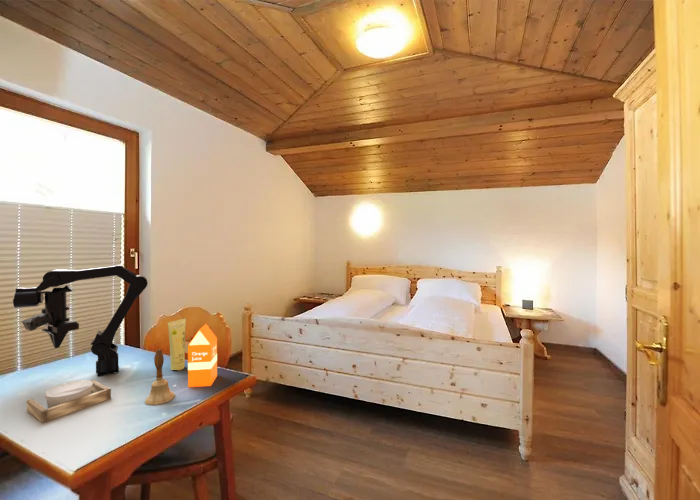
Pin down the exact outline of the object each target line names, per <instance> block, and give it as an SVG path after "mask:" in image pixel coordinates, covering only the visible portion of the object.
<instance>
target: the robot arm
mask: <svg viewBox="0 0 700 500" xmlns="http://www.w3.org/2000/svg"><path fill="white" fill-rule="evenodd" d="M114 276H116V277H118V278H120V279H122V280H123V281H124V282H126V283H127V284H129V285H128V288H127V291H126V293H125V295H124V297H123V299H122V300H121V302H120V304H119V306H118V307H117V309H116V310H115V312H114V314H113V315H112V317H111V319H110V321H109V322H108V324H107V326H106V327H105V328H104V329H103V330H97V333H96V334H95V337H94V338H93V339H91V342H90V346H91V347H90V351H91V353H92V354H93V355H95V356H97V360H96V361H95V374H96V375H97V377H100V376H105V375H110V374H111V375H112V374H115V373H116V374H117V373H119V372H120V366H119V352H118V349H119V346H118V345H116V344H115V343H114V342H113V341H114V339H115V335H116V333H117V331H118V329H119V328H120V326H121V324H122V322H123V321H124V320H125V318H126V316H127V314H128V312H129V311H130V309H131V307H132V306H133V303H135V300H137V298H138V297H139V296H140V295H141V294H142V293H143V292H144V291H145V289H146V288H147V286H148V279H147V278H146V276H145V275H143V274H142V275H141V274H136V273H135V272H133V271H131V270H130V269H128V268H126V267H125V266H123V265H121V264H117V265H111V266H105V267H94V268H86V269H54V270H50V271H47V272H46V273H45V274H44V275H43V276H42V281H41V282H40V283H39V284H38V285H37V287H17V288H15V291H14V292H15V293H14V295H13V296H14V297H13V299H12V305H13V308H14V309H21V308H33V307H34V308H35V307H39V306H40V304H43V302H44V307H43V308H42V309H41V310H40V313H38V314H35V315H34V316H33V315H32V316H31V317H28V318H26V319H24V320H22V321H21V322H22V323H21V324H22V325H23V327H24V328H25V330H26V331H27V330H28V331H30V332H32V331H34V330H37V329H38V328H40V327H42V326H44V328H42V329H41V331H42V332H44V333H46V334H48V336H49V338H50V341H51V343H52V346H53V348H54V349H59V348H60V346H62V343H63V341H64V339H65V337H66V336H67V334H68V333H69V332H71V331H77V330H79V329H80V322H78V321H75V320H70V317H68V314H67V311H69V310H70V306H67V293H70V292H73V291H74V288H72V287H71V286H69V284H71V283H74V282H77V281H82V280H83V281H84V280H85V281H86V280H90V279H99V278H108V277H114ZM63 285H65V286H63ZM60 286H61V287H60ZM62 286H63V287H62ZM49 288H52V290H47V289H49Z"/></svg>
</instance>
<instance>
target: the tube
mask: <svg viewBox="0 0 700 500" xmlns="http://www.w3.org/2000/svg"><path fill="white" fill-rule="evenodd" d="M186 324H187V319H186V318H181V319H177V320H173V321H168V322H167V329H168V339H169V340H168V341H169V357H170V363H169V365H170V370H171V371H172V370H178V371H181V370H184V369H185V366H186V364H185V362H186V361H185V359H186V358H185V355H186V354H185V352H186V349H185V348H186Z"/></svg>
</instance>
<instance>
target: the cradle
mask: <svg viewBox="0 0 700 500" xmlns="http://www.w3.org/2000/svg"><path fill="white" fill-rule="evenodd" d="M90 381H91V382H92V383H93V386H92V389H91V394H90V395H87V396H84V397H81V398H78V399H75V400H72V401H69V402H66V403H63V404H60V405H57V406H54V407H51V408H48V407H47V408H46V407H45V406H43V405H42V404H40V403H39V402H37V401H36V400H35V399H34V398H30V399H27V400H26V411H27V412H28V411H29V412H28V413H29V414H31V415H33V416H34V417H35V418H36V419H38V421H40V422H41V423H46V422H49V421H52V420H54V419H58V418H60V417H62V416H65V415H69V414H70V413H74V412H76V411H78V410H81V409H85V408H87V407H90V406H93V405H96V404H99V403H100V402H103V401H106V400H110V399H111V398H112V389H111V388H110V387H108V386H106V385H104V384H102V383H100V382H98V381H96V380H94V379H92V380H90Z"/></svg>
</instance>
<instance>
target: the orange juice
mask: <svg viewBox="0 0 700 500" xmlns="http://www.w3.org/2000/svg"><path fill="white" fill-rule="evenodd" d="M217 377H218V337H217V335H216V334H214V332H213V331H212V329H211V328H210V327H209V325H208V324H207V323H205V324H204V325H202V327H200V328H199V329H198V331H197V332H196V334H195V335H194V336H193V338H192V339H191V340H190V342H189V343H188V345H187V380H188V381H187V382H188V383H187V387H188V388H196V387H197V388H198V387H211V386H212V385H213V383H214V381H215V380H216V378H217Z"/></svg>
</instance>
